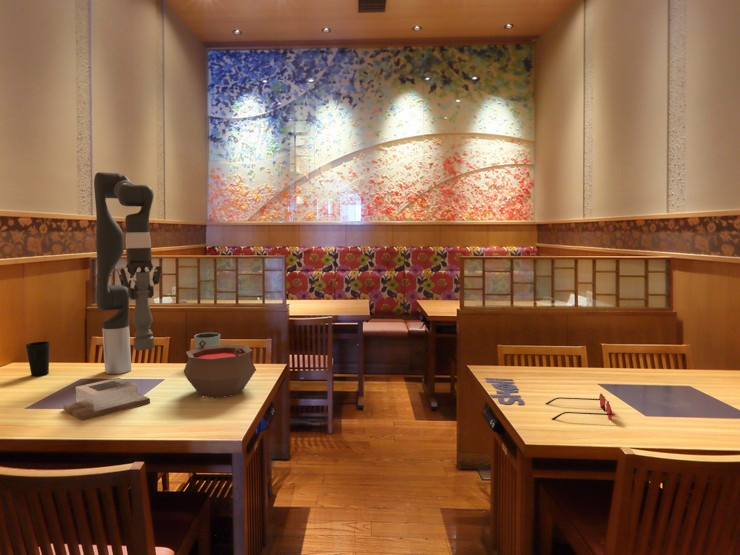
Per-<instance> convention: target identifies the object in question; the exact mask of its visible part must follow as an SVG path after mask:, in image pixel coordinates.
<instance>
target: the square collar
mask: <svg viewBox="0 0 740 555" xmlns="http://www.w3.org/2000/svg"><path fill="white" fill-rule="evenodd" d="M74 387H75V401H76V402H75V403H78V404H80V405H82V406H84V407H86V408H88V409H90V410H91V411H93V412H96V411H100V410H104V409H108V408H111V407H115V406H119V405H123V404H127V403H131V402H135V401H138V394H139V393H138V384H136V383H133V382H131V381H128V380H126V379H122V378H120V377H116V378H110V379H106V380H102V381H101V380H100V381H96V382H92V383H87V384H83V385H82V384H81V385H78V386H74Z"/></svg>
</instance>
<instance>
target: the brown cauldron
mask: <svg viewBox="0 0 740 555" xmlns="http://www.w3.org/2000/svg"><path fill="white" fill-rule="evenodd" d="M202 342H203V343H204V344H203V345H202V344H201V343H202ZM205 344H206V342H205V341H204V340H203V339H202V340H201V342H200V343H199V345H200V346H201V347H200V348H197V349H196V348H194V349H191V350H187V351H185V353H186V355H187V356H188V359H187V361H186V364H185V366H184V369H183V373H184V376H185V378H186V380H187V381H188V382H189V384H191V386H192V387H193V388H194V389H195V391H196V392H197V394H199V396H200V397H202V396H204V398H211V397H213V399H218V398H217V397H219V398H225V397H224V396H227V397H232V396H231V395H233V396H235V395H237V394H239V393H241V392H243V391H244V389H245V387H246V386H247V384H248V383H249V381H250V380H251V379H252V377H253V375H254V374H255V372H256V371H257V369H256V366H255V364H254V362H253V359H251V356H250V355H251V353H252V351H253V349H252V348H250V347H249V346H248V345H243V344H242V345H241V344H229V343H228V344H227V343H225V344H220V345H214V346H205ZM242 390H243V391H242ZM240 391H241V392H240Z"/></svg>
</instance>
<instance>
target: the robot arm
mask: <svg viewBox="0 0 740 555" xmlns="http://www.w3.org/2000/svg"><path fill="white" fill-rule="evenodd" d="M93 188H94V191H93V192H94V201H95V212H96V215H95V216H96V221H95V222H96V224H95V225H96V228H95V229H96V230H95V231H96V232H95V234H96V236H95V237H96V239H95V241H96V242H95V243H96V245H95V246H96V247H95V249H96V264H97V266H96V268H97V269H96V270H97V271H96V272H97V273H96V287H95V288H96V289H95V302H96V306H97V309H98V310H99V311H102V312H103V311H113V310H116V312H115V313H114V314H113V315H111V316H110V317H108V318H105V319H104V320H102V323H101V325H102V327H101V328H102V340H103V341H102V342H103V343H102V344H103V359H104V360H103V361H104V373H105V374H106V375H119V374H124V373H128V372H130V371H132V358H131V357H132V355H131V354H132V353H131V337H130V300H131V301H135V288H134V286H135V281H136V273H141V272H149V273H150V282H149V285H148V287H147V289H148V290H150V292H149V293H148V299H151V298H153V297H154V295H155V292H154V291H155V290H154V289H155V288H154V286H156V285H159V284H160V278H161V273H162V272H161V271H162V267H161V266H160V265H153V262H152V260H153V258H152V240H151V234H150V214H151V209H152V205H153V201H154V191H153V189H152V187H151V185H150V186H149V185H147V184H136V183H134V182H132V181H131V180H130V179H129V178H128V177H127V176H126V175H125V174H123V173H119V172H118V173H117V172H102V171H100V172H99V171H98V172H96V173H95V174H94V179H93ZM106 199H117V200H118V202H119V204H120V205H121V206H124V207H140V210H139V211H137V212H135V213H130V214H127V215H126V216H125V217H124V218H125V219H124V220H125V224H124V225H125V235H124V233H123V230H122V229H121V227H120V225H119V224H118V223H117V222H116V220H115V219H114V217H113V216H112V214H111V212H110V210H109V208H108V205H107V201H106ZM124 236H125V237H124ZM124 239H125V242H124ZM124 250H125V256H126V266H125V267H122V268H121V267H120V268H117V275H118V279H119V281H120V284H117V285H116V284H115V285H109V281H110V276H111V274H112V273H113V272H112V271H113V270H114V268H115V267H116V266H117V264H118V263H119V261H120V260H121V258H122V256H123V254H124ZM151 272H152V274H151ZM127 273H129V276H128V277H127ZM134 273H135V274H134ZM131 275H134V277H133V278H131Z"/></svg>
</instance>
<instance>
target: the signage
mask: <svg viewBox="0 0 740 555" xmlns="http://www.w3.org/2000/svg"><path fill="white" fill-rule="evenodd" d="M484 379H485V383H488V384H491V386H493V388H494V389H495V392H496V394H489V396H490V397H491V398H492V399H495V398H498V399H497V401H498V403H499V404H500V405H504V406H505V405H506V406H510V405H513V404H514V403H515V402H518V403H517V406H525V401H524V400H523V399H522V396H521V395H520V394H519V393H520V392H519V390H520V389H519V388H518V386H517V385H515V382H514V379H512V378H493V377H484ZM514 394H515V395H514ZM516 394H517V395H516ZM518 394H519V395H518ZM505 399H508V400H507V401H505Z"/></svg>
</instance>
